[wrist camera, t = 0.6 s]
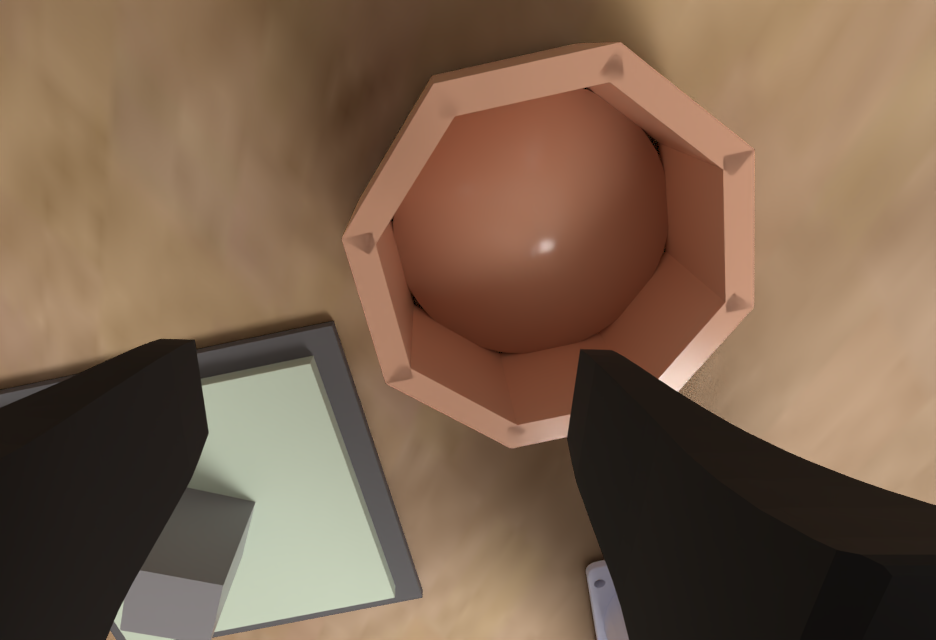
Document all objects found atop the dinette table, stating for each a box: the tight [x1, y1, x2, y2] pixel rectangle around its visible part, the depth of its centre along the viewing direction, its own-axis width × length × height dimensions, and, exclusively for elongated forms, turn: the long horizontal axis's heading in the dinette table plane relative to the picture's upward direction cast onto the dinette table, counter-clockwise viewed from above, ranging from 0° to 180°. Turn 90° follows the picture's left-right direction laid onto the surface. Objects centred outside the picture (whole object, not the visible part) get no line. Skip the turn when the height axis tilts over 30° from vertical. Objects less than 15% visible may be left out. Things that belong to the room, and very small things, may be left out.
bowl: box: [342, 42, 755, 448], centre depth 18 cm, size 11×11×5 cm
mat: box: [0, 321, 423, 640], centre depth 24 cm, size 14×14×1 cm
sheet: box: [114, 356, 395, 640], centre depth 22 cm, size 12×12×5 cm
